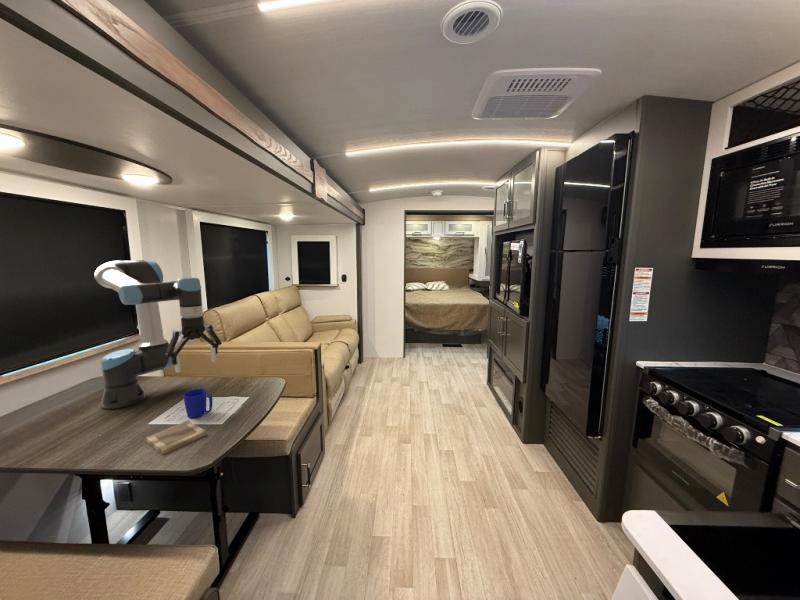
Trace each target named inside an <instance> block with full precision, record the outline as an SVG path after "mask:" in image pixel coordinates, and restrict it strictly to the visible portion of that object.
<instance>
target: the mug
mask: <svg viewBox="0 0 800 600" xmlns="http://www.w3.org/2000/svg"><path fill="white" fill-rule="evenodd" d="M182 397H183V403H184V407H185V411H186V415H187V417H188V418H191V419H195V418H200V417H202V416H204V415H205V414H208V413H210V412H211V411H212V409H213V400H214V399H213V395H209V394H207V389H205V388H194V389H190V390H188V391H186V392H184V393H183V395H182ZM207 399H208V400H209V405H208V409H207Z"/></svg>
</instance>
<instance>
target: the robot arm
mask: <svg viewBox="0 0 800 600" xmlns="http://www.w3.org/2000/svg"><path fill="white" fill-rule="evenodd" d="M94 280H95V281H96V282H97V283H98V284H99V285H100V286H102V287H104V288H107V289H112V290H113V291H115V292H117V293H118V297H119V300H120V301H121V303H122V304H123V305H125V306H126V305H127V306H128V305H132V306H133V305H135V310H136V315H137V320H138V321H137V322H138V328H139V334H140V339H141V343H140V344H139V345H138V350H135V349H134V348H126V349H120V350H115V351H113V352H110V353H108V354H106V355H104V356H103V357H102V359H101V360H100V362H101V368H100V369H101V371H102V378H103V385H104V391H103V395H102V398H101V401H100V402H101V403H100V404H101V408H102V407H103V408H102V409H105V410H113V409H114V410H115V408H116V409H122V408H125V407H129V405H130V406H132V405H135V404H137V403H140V402H141V401H143V400H144V399H145V398H146V391H145V389H144V388H143V386H142V385H141V383H140V382H139V376H143V375H147V374H149V373H155V372H157V371H163V370H165V369H168V368H171V367H172V366H174V369H175V370H174V371H175V372H176V373H177V374H179V373H182V372H181V362H180V361H181V360H180V355H179V353H180V352H181V351H182V349H183V348H184V347H185V345H186V344H187V343H188V342H189V341H193V340H195V339H196V340H197V339H203V340H204V341H205V342H206V343H208V344H209V345H210V360H211V361H210V362H211V363H215V364H216V363H217V355H218V352H219V351H218V348H219V346H221V345H222V343H223V342H222V340H220V338H219V336H218V335H217V333H216V332H215V331H214V329H213V328H214V327H213V325H210V324H207V325H204V324H205V323H204V322H205V321H204V316H203V314H204V312H203V311H204V310H203V299H202V286H201V280H200V279H199V278H197V277H180V278H178V279H177V280H172V281H167V282H164V274H163V270H162V268H161V266H160V265H159V264H158V263H157V262H156V261H154V260H145V259H144V260H112V261H107V262H105V263H103V264H101V265H99V266H98V267H97V268H96V270H95V271H94ZM169 301H178V302H179V313H180V314H179V315H180V316H181V318H180V323H181V330H172V336H171V339H170V342H169V341H168V339H165V336H164V331H163V325H162V317H161V313H160V312H161V311H160V306H159V303H160V302H161V303H162V302H169ZM205 331H207V332H208V334H209V336H211V338H212V339H211V338H209V336H207V335H206V334H205V333H204V332H205ZM181 335H182V337H181ZM179 337H181V338H180V341H179V342H178V340H179ZM177 342H178V343H177Z"/></svg>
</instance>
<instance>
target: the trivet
mask: <svg viewBox="0 0 800 600" xmlns="http://www.w3.org/2000/svg"><path fill="white" fill-rule="evenodd" d="M206 435H207V431H206V430H205V429H203V428H201V427H200V426H198V425H197V424H195V423H193V422H192V421H190V420H189V419H188V420H185V421H183V422H180V423H178V424H176V425H172V426H170V427H168V428H165V429H163V430H160V431H159V432H155V433H153V434H151V435H149V436H146V437H145V442H147V443H148V444H149V445H150V446H151V447H153V449H155V450H156V451H158V453H160V454H161V455H165V454H168V453H169V452H171V451H174V450H176V449H178V448H180V447H182V446H185V445H187V444H190V443H191V442H193V441H196V440H198V439H200V438H202V437H205V436H206Z"/></svg>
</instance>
